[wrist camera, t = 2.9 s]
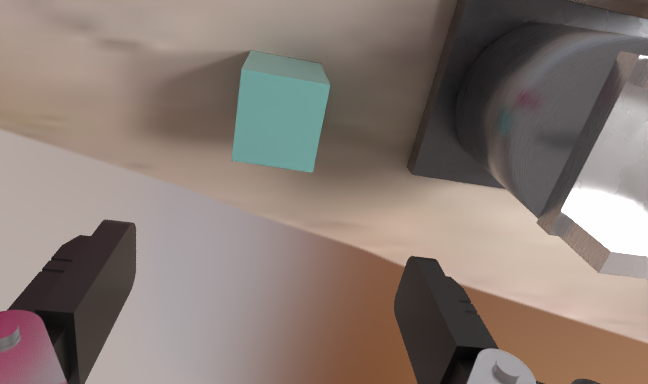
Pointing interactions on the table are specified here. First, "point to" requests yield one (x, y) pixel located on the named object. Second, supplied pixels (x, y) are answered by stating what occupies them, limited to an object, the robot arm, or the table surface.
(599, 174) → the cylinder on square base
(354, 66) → the table surface
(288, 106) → the turquoise cube
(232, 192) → the table surface
